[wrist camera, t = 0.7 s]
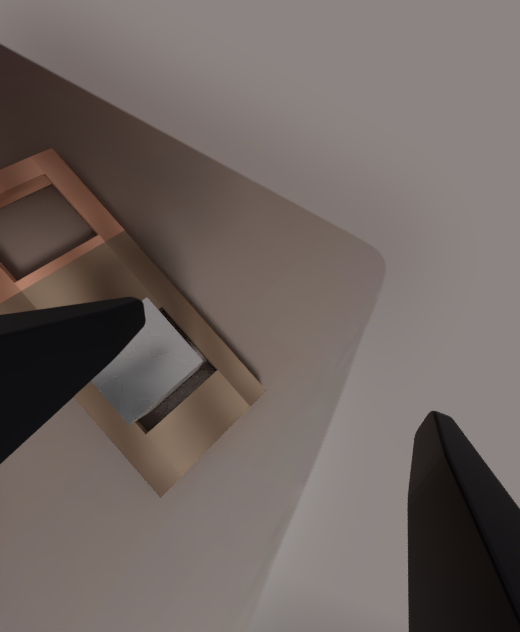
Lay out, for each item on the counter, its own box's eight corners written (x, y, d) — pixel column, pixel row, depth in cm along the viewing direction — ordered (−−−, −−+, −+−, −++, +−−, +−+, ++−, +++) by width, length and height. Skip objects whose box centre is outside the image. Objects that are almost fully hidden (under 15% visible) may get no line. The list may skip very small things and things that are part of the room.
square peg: (150, 411, 21) (128, 425, 13) (111, 365, 21) (66, 353, 13) (198, 369, 22) (203, 360, 15) (161, 327, 22) (147, 296, 15)
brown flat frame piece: (162, 491, 19) (160, 497, 18) (-75, 217, 20) (-90, 207, 19) (262, 390, 23) (266, 390, 22) (58, 159, 23) (51, 147, 22)
